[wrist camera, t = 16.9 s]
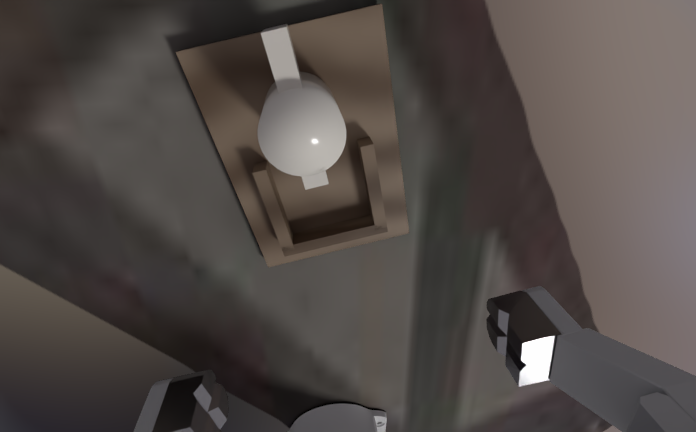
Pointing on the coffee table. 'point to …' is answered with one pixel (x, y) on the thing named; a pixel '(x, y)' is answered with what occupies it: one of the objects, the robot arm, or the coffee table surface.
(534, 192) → the coffee table surface
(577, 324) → the robot arm
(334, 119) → the white capsule with handle
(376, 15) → the cradle board
